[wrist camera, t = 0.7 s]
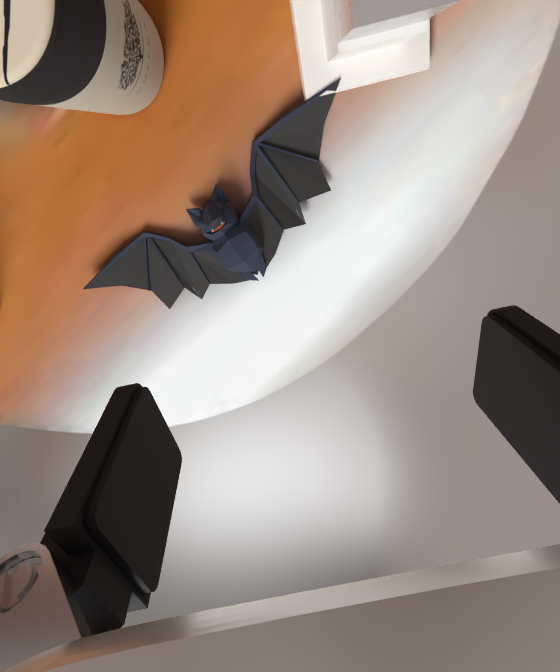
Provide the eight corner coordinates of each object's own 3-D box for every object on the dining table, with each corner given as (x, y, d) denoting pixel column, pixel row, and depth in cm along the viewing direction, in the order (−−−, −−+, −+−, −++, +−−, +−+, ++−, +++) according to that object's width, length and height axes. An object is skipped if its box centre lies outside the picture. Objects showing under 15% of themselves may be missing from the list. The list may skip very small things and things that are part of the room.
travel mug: (42, 75, 27) (-233, 0, 12) (70, -49, 24) (-257, -381, 8) (143, 135, 30) (29, 142, 14) (181, 31, 26) (87, -109, 11)
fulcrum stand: (284, -31, 25) (301, -105, 17) (422, -68, 25) (505, -161, 17) (304, 100, 29) (325, 89, 21) (422, 70, 29) (489, 48, 21)
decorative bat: (145, 365, 36) (67, 291, 32) (157, 347, 40) (88, 278, 36) (403, 185, 29) (342, 63, 25) (388, 182, 33) (333, 75, 29)
